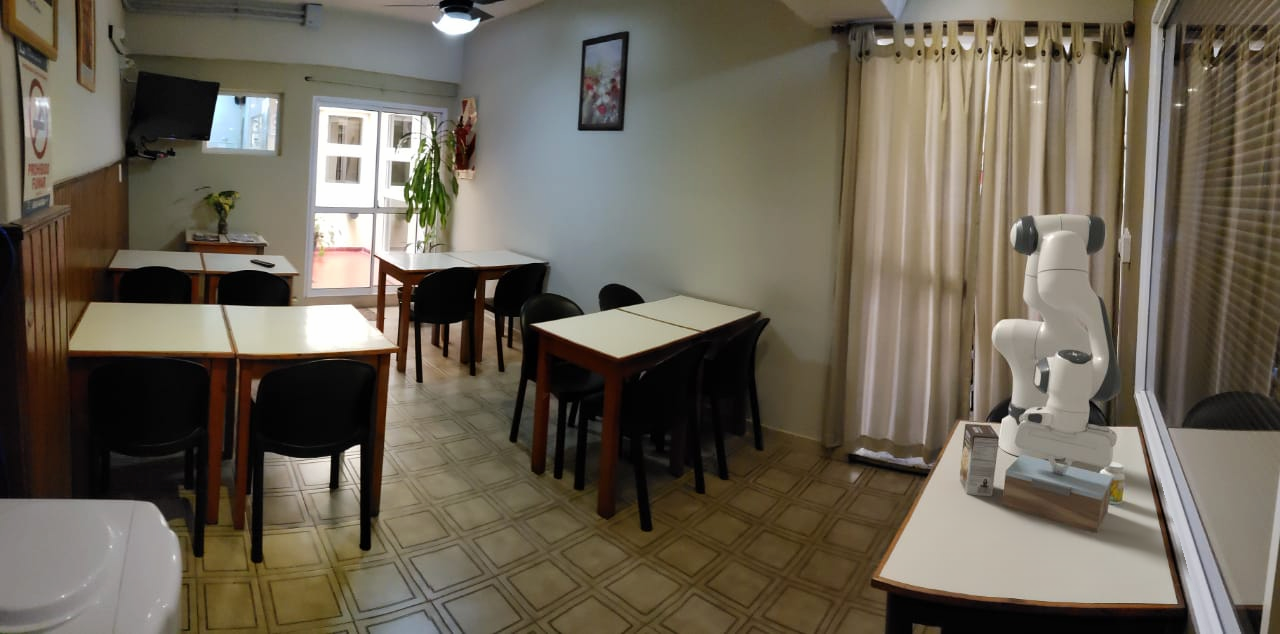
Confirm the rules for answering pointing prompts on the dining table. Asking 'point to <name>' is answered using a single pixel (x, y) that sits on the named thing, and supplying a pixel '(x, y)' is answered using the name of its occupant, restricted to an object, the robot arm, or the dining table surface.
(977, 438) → the coffee box
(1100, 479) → the lid
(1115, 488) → the supplement bottle
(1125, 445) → the dining table surface
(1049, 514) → the walnut box
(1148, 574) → the dining table surface
